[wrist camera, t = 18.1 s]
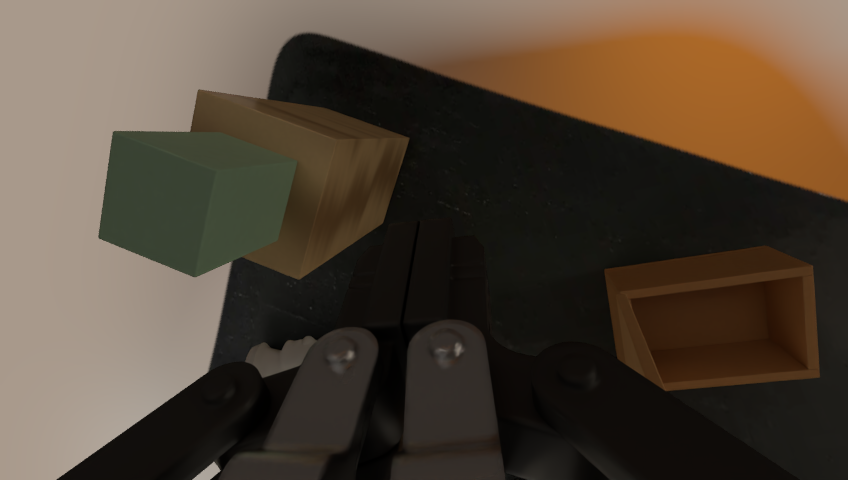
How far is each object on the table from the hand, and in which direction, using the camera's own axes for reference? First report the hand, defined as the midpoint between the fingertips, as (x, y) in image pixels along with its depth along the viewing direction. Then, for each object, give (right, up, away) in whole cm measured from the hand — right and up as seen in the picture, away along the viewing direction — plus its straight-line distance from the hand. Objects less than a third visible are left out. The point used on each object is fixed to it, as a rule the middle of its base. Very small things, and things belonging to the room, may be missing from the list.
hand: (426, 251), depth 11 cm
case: (+19, -4, +22) cm, 30 cm away
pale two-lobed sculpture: (-10, -10, +29) cm, 33 cm away
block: (-8, +3, +10) cm, 13 cm away
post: (-6, +6, +25) cm, 26 cm away
